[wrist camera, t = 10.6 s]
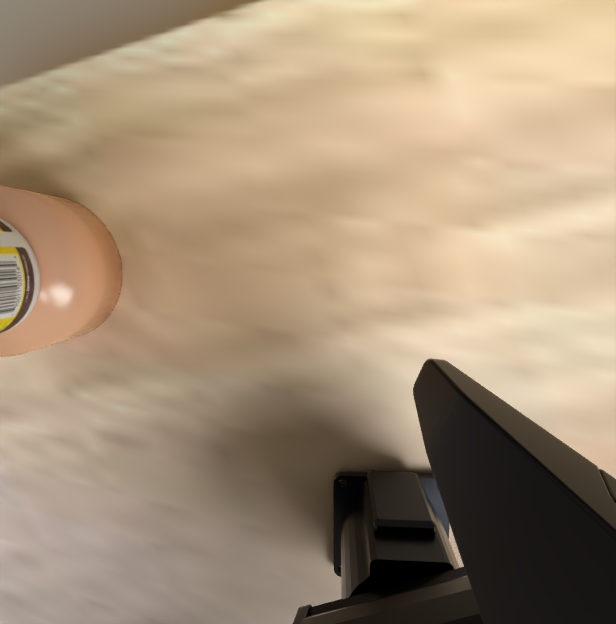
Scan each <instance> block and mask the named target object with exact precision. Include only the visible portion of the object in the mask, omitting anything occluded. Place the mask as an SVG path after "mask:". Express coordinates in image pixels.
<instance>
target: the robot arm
mask: <svg viewBox="0 0 616 624" xmlns="http://www.w3.org/2000/svg"><path fill="white" fill-rule="evenodd" d="M413 395H414V400H415V404H416V409H417V413H418V418H419V422H420V427H421V431H422V436H423V440H424V445H425V449H426V453H427V456H428V459H429V463H430V466H431V469H432V472H433V474H416V473H414V472H396V471H370V472H338V473H336V474H335V476H334V572H335V573H336V575H338V576H340V577H341V586H342V599H340V600H337V601H333V602H329V603H325V604H322V605H318V606H314V607H312V605H306V606H303V607H299V609H298V612H297V614H296V617H295V620H294V622H293V624H616V479H615V478H613V477H612V476H611V475H609V474H608V473H606V472H605V471H603V470H602V469H598V467H597V466H596V465H595V464H593V463H592V462H590V461H589V460H588V459H586V458H585V457H583V456H582V455H580V454H579V453H578V452H576V451H575V450H573V449H572V448H570V447H569V446H567V445H566V444H565V443H563V442H562V441H560V440H559V439H557V438H556V437H555V436H553V435H552V434H550V433H549V432H547V431H546V430H545V429H543V428H542V427H540V426H539V425H537V424H536V423H535V422H533V421H532V420H530V419H529V418H527V417H526V416H524V415H523V414H522V413H520V412H519V411H517V410H516V409H514V408H513V407H512V406H510V405H509V404H507V403H506V402H504V401H503V400H502V399H500V398H499V397H497V396H496V395H494V394H493V393H492V392H490V391H489V390H487V389H486V388H484V387H483V386H482V385H480V384H479V383H477V382H476V381H474V380H473V379H471V378H470V377H469V376H467V375H466V374H464V373H463V372H461V371H460V370H459V369H457V368H456V367H454V366H453V365H451V364H450V363H449V362H447V361H445V360H439V359H428V360H426V361H425V363H424V365H423V367H422V369H421V371H420V373H419V375H418V377H417V379H416V382H415V384H414V388H413ZM339 480H345V481H346V482H345V483H343V484H342V483H339V482H338V481H339ZM449 523H450V526H451V529H452V532H453V535H454V538H455V541H456V544H457V547H458V550H459V553H460V556H461V559H462V562H463V565H464V567H461V568H460V567H459V565H458V562H457V560H456V557H455V555H454V552H453V550H452V547H451V545H450V542H449ZM340 566H341V567H340Z"/></svg>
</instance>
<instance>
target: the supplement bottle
mask: <svg viewBox="0 0 616 624" xmlns="http://www.w3.org/2000/svg"><path fill="white" fill-rule="evenodd" d="M39 290H40V271H39V267H38V263H37V260H36V257H35V254H34V252H33V250H32V248H31V247H30V245H29V244H28V242H27V241H26V239H25V238H24V237H23V236H22V235H21V234H20V233H19V232H18V231H17V230H16V229H15V228H14V227H13V226H11V225H10V224H9V223H7V222H5V221H4V220H2V219H0V333H2V332H5V331H8V330H10V329H12V328H14V327H15V326H17V325H18V324H20V323H21V322H22V321H23V320H24V319H25V318H26V317H27V316H28V315H29V314H30V312H31V311H32V309H33V308H34V306H35V304H36V301H37V299H38V295H39Z"/></svg>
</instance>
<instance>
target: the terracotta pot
mask: <svg viewBox="0 0 616 624" xmlns="http://www.w3.org/2000/svg"><path fill="white" fill-rule="evenodd" d="M0 219H2V220H4V221H5V222H7V223H9V224H10V225H11V226H13V227H14V228H15V229H16V230H17V231H18V232H19V233H20V234H21V235H22V236H23V237H24V238H25V239H26V241H27V242H28V244H29V245H30V247H31V248H32V250H33V252H34V254H35V257H36V260H37V263H38V267H39V271H40V290H39V295H38V299H37V301H36V304H35V306H34V308H33V309H32V311H31V312H30V314H29V315H28V316H27V317H26V318H25V319H24V320H23V321H22V322H21V323H20V324H18V325H17V326H15V327H14V328H12V329H10V330H8V331H5V332H2V333H0V357H6V356H15V355H20V354H23V353H27V352H30V351H33V350H36V349H39V348H42V347H46V346H49V345H52V344H55V343H58V342H62V341H65V340H68V339H71V338H74V337H77V336H80V335H83V334H86V333H88V332H90V331H92V330H94V329H95V328H97V327H98V326H99V325H101V324H102V323H103V322H104V321H105V320H106V319H107V317H108V316H109V315H110V313H111V312H112V311H113V309H114V307H115V305H116V303H117V300H118V298H119V295H120V290H121V285H122V265H121V259H120V255H119V252H118V249H117V246H116V244H115V241H114V239H113V238H112V236H111V234H110V232H109V231H108V230H107V228H106V227H105V225H104V224H103V223H102V222H101V221H100V220H99V219H98V218H97V217H96V216H95V215H94V214H93V213H92V212H90V211H89V210H88V209H86V208H85V207H83V206H82V205H80V204H77V203H75V202H73V201H70V200H67V199H64V198H60V197H55V196H50V195H46V194H41V193H36V192H31V191H26V190H22V189H17V188H12V187H7V186H2V185H0Z"/></svg>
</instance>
